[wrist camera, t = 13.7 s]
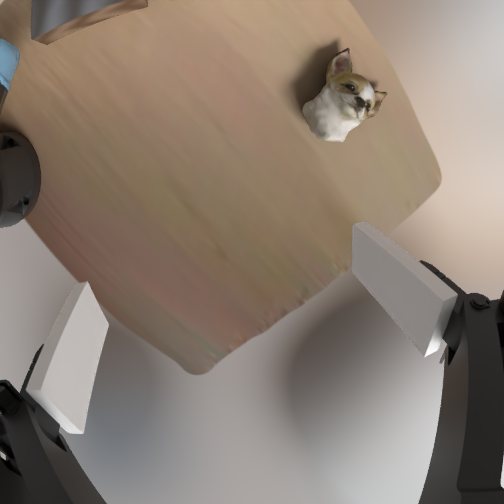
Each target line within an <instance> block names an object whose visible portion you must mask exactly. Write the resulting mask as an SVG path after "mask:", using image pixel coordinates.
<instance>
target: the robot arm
mask: <svg viewBox="0 0 504 504" xmlns="http://www.w3.org/2000/svg"><path fill="white" fill-rule="evenodd" d="M19 58H20V56H19V51H18V49H17V48H16V47H15V46H14V45H13V44H11V43H9V42H8V41H6V40H4V39H2V38H0V113H1V110H2V107H3V104H4V101H5V99H6V96H7V93H8V92H9V91H10V84H11V81H12V79H13V76H14V73H15V71H16V68H17V66H18V63H19ZM40 185H41V172H40V165H39V161H38V158H37V155H36V152H35V150H34V148H33V147H32V145H31V144H30V142H29V141H28V140H27V139H26V138H25V137H24V136H22V135H21V134H19V133H16V132H11V131H8V132H2V133H0V228H3V227H9V226H12V225H14V224H17V223H18V222H20V221H21V220H22V219H24V218H25V217H26V216H27V215H28V214H29V213H30V212H31V211H32V209H33V208H34V206H35V204H36V202H37V199H38V196H39V192H40ZM351 272H352V273H353V274H354V275H355V276H356V277H357V278H358V280H360V282H361V283H362V284H363V285H364V286H365V287H366V288H367V290H368V291H369V292H370V293H371V294H372V295H373V296H374V297H375V299H376V300H377V301H378V302H379V303H380V304H381V305H382V307H383V308H384V309H385V310H386V311H387V312H388V314H389V315H390V316H391V317H392V318H393V320H394V321H395V322H396V323H397V324H398V325H399V327H400V328H401V329H402V330H403V332H404V333H405V334H406V335H407V336H408V338H409V339H410V340H411V341H412V343H413V344H414V345H415V346H416V347H417V349H418V350H419V351H420V352H421V354H422V355H423V356H424V357H425V356H427V355H429V354H431V353H433V352H435V351H437V350H438V349H439V347H440V344H441V342H442V339H443V340H444V341H445V342H446V343H447V346H446V348H445V351H444V353H443V355H442V358H441V360H440V363H442V362H443V360H444V359H445V363H444V378H443V379H444V380H443V390H442V399H441V407H440V414H439V421H438V427H437V433H436V438H435V443H434V448H433V453H432V457H431V462H430V466H429V470H428V474H427V477H426V481H425V484H424V488H423V491H422V495H421V498H420V500H419V503H418V504H504V488H502V487H501V484H500V482H501V472H502V465H503V455H504V290H503V293H502V295H501V298H500V299H497V300H492V301H490V300H489V299H488V298H487V297H486V296H484V295H482V294H478V293H470V294H466V293H465V292H464V291H463V290H462V289H461V288H459V287H458V286H457V285H456V284H455V283H454V282H452V281H451V280H450V279H449V278H446V276H445V275H444V274H443V273H441V272H440V271H439V270H438V269H436V268H435V267H434V266H433V265H431V264H429V263H427V262H424V261H422V260H421V261H418V260H416V259H415V258H414V257H412V256H411V255H410V254H409V253H407V252H406V251H405V250H404V249H402V248H401V247H400V246H398V245H397V244H396V243H394V242H393V241H392V240H390V239H389V238H388V237H387V236H385V235H384V234H382V233H381V232H380V231H378V230H377V229H376V228H374V227H373V226H372V225H370V224H369V223H367V222H366V221H365V222H360V223H355V224H353V240H352V270H351ZM108 326H109V324H108V322H107V320H106V318H105V316H104V314H103V313H102V311H101V309H100V307H99V305H98V303H97V301H96V298H95V296H94V294H93V292H92V290H91V288H90V286H89V284H88V281H87V282H82V283H78V284H75V285H74V287H73V289H72V291H71V292H70V294H69V296H68V298H67V300H66V302H65V303H64V305H63V307H62V309H61V311H60V313H59V315H58V317H57V319H56V321H55V323H54V325H53V327H52V329H51V331H50V334H49V335H48V338H47V340H46V342H45V344H43V345H42V346H41V347H40V348H39V350H38V351H37V352H36V354H35V357H34V359H33V361H32V362H33V363H32V364H31V366H30V368H29V369H30V370H29V371H28V373H27V376H26V378H25V380H24V383H23V385H22V389H21V391H20V393H19V392H18V391H17V390H16V389H15V388H14V387H13V386H12V384H11V383H10V382H9V381H7V380H0V451H1V452H2V453H4V454H5V455H6V460H4V459H3V458H2V457H1V456H0V504H106V502H105V501H104V499H103V498H102V497H101V495H100V494H99V493H98V491H97V490H96V489H95V487H94V486H93V484H92V483H91V481H90V480H89V479H88V477H87V475H86V474H85V472H84V471H83V469H82V468H81V466H80V465H79V463H78V461H77V460H76V458H75V456H74V455H73V453H72V451H71V450H70V448H69V446H68V444H67V443H66V441H65V439H64V437H63V436H62V435H61V434H60V433H59V427H60V426H61V427H62V428H64V429H65V430H66V431H67V432H68V433H77V434H83V433H84V428H85V422H86V417H87V411H88V406H89V402H90V397H91V392H92V387H93V383H94V379H95V375H96V370H97V366H98V362H99V358H100V355H101V351H102V347H103V343H104V340H105V337H106V333H107V330H108Z"/></svg>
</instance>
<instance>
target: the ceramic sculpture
mask: <svg viewBox="0 0 504 504" xmlns="http://www.w3.org/2000/svg"><path fill="white" fill-rule="evenodd" d="M351 72H352V63H351V61H350V56H349V48H347V49H345V50H344V51H342V52H339V53H338V54H336V55H335V56H334V57H333V58H332V59H331V60H330V62H329V64H328V67H327V70H326V85H325V86H324V87H323V88H322V90H321V92H320V93H319V94H318V95H317V96H316V97H315V98H314V99H313V100H311V101H309V102H307V103H306V104H305V105H304V106H303V109H302V112H303V115H304V117H305V118H306V120H307V122H308V124H309V127H310V130H311V132H312V133H314V134H315V135H316V137H318V138H319V139H322V140H325V141H338V142H343V141H344V139H345V138H346V135H347V134H348V132H349V130H351V129H353V128H354V127H357V126H358V125H359V124H360V123H361V122H362V121H363V120H364V118H370V117H373V116H374V115H375V114H376V113H377V112H378V110H379V107H380V105H381V102H382V100H383V98H384V97H385V96H386V95H387V92H378V91H374V90H373V88H372V86H371V85H370V83H369V82H368V81H367V80H366V79H365V78H364V77H362V76H361V75H359V74H353V73H351Z"/></svg>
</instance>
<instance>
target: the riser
mask: <svg viewBox="0 0 504 504" xmlns="http://www.w3.org/2000/svg"><path fill="white" fill-rule="evenodd" d="M145 7H148V3H147V0H32V16H31V39H32V40H35V41H38V42H40V43H43V44H46V45H48V44H50V43H52V42H54V41H56V40H58V39H60V38H62V37H64V36H66V35H68V34H71V33H73V32H75V31H78V30H80V29H82V28H85V27H87V26H90V25H92V24H95V23H98V22H100V21H103V20H106V19H109V18H112V17H115V16H118V15H121V14H124V13H127V12H131V11H134V10H138V9H141V8H145Z"/></svg>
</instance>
